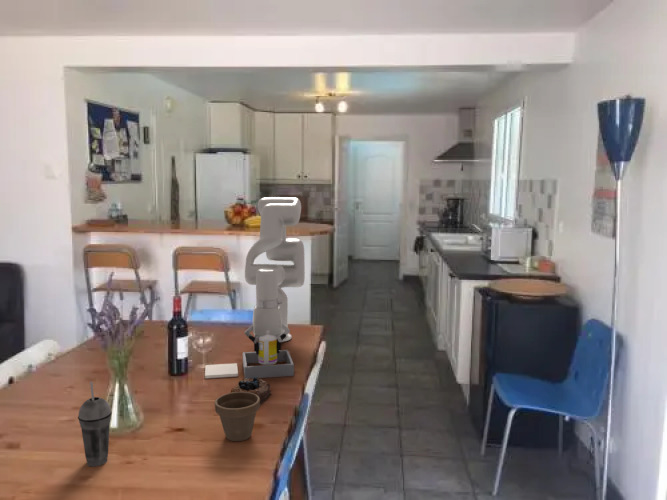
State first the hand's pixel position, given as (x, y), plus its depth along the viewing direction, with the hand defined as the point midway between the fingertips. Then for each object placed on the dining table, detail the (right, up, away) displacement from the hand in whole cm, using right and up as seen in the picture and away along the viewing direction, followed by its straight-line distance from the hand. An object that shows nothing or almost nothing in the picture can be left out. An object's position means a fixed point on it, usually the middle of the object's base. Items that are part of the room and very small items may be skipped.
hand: (267, 352), depth 196 cm
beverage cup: (-32, -14, -65) cm, 74 cm away
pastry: (-2, -10, -26) cm, 28 cm away
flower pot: (-1, -13, -52) cm, 54 cm away
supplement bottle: (0, -4, +1) cm, 4 cm away
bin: (0, -6, 0) cm, 6 cm away
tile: (-16, -6, -3) cm, 17 cm away
